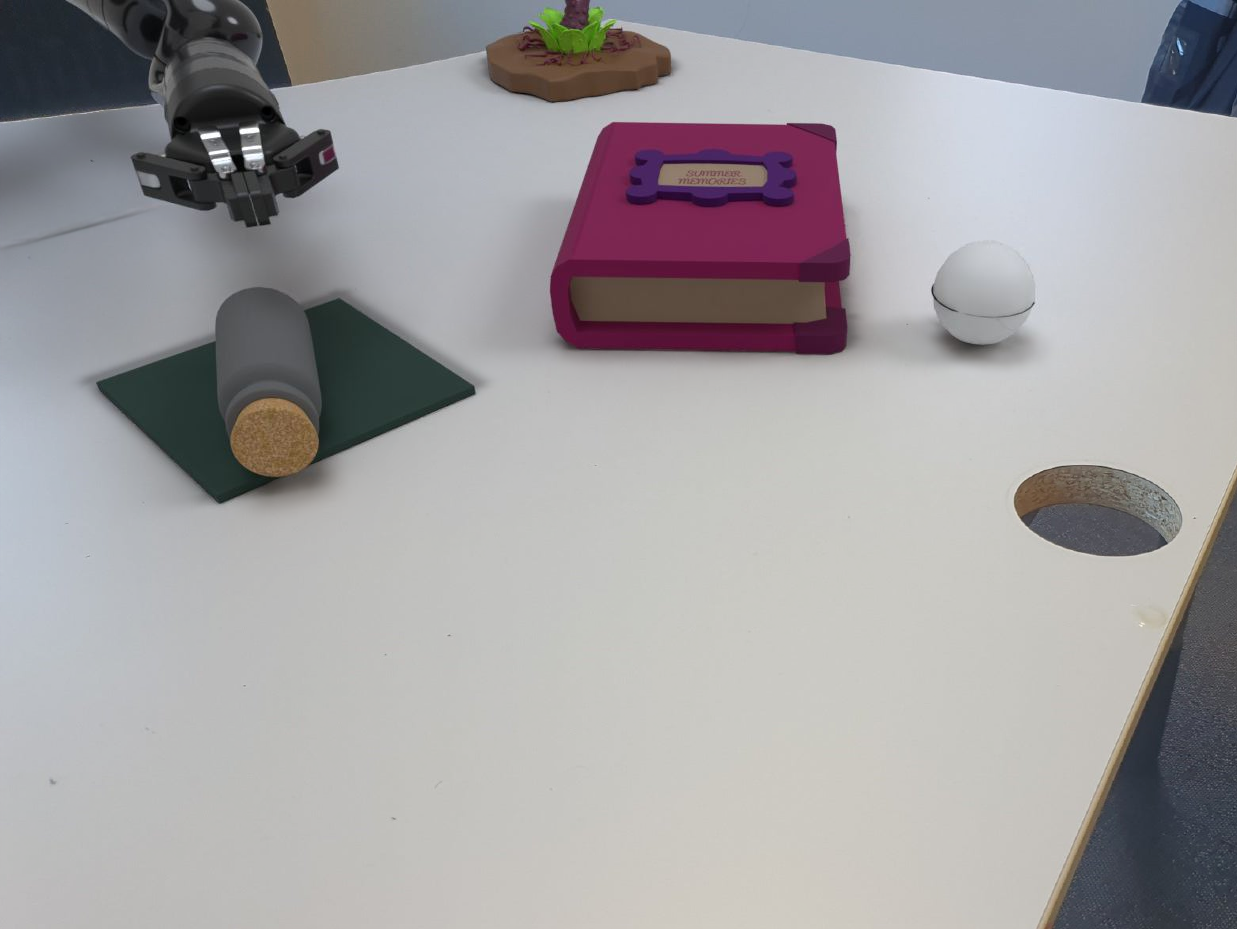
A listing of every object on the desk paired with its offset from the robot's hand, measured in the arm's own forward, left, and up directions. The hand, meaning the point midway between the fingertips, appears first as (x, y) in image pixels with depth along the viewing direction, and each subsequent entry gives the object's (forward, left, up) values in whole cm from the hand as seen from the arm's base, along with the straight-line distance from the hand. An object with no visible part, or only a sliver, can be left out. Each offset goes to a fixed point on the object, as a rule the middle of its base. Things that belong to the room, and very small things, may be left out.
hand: (253, 210), depth 68 cm
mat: (-1, +1, -13) cm, 13 cm away
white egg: (+38, -28, -13) cm, 49 cm away
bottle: (0, +4, -9) cm, 10 cm away
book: (+33, -5, -13) cm, 36 cm away
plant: (+57, +44, -13) cm, 73 cm away
